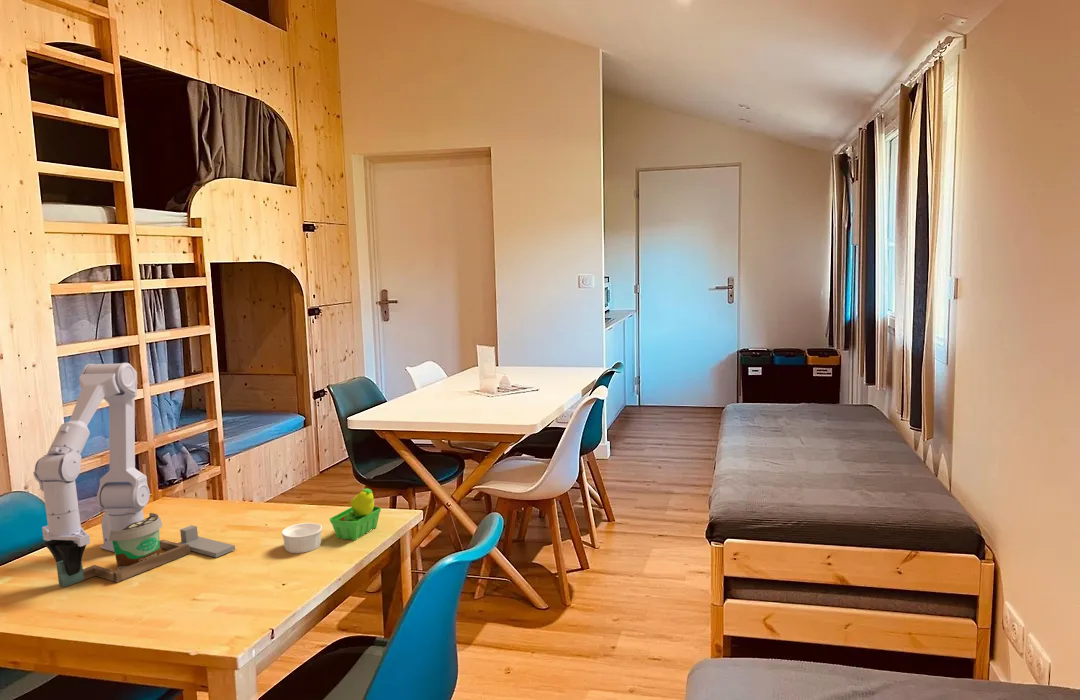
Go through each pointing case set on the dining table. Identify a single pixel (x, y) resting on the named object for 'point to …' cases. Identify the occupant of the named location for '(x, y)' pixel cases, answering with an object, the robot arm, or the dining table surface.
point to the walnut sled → (124, 573)
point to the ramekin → (302, 537)
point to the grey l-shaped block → (203, 543)
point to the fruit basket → (357, 517)
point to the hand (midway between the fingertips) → (70, 572)
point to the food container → (137, 541)
